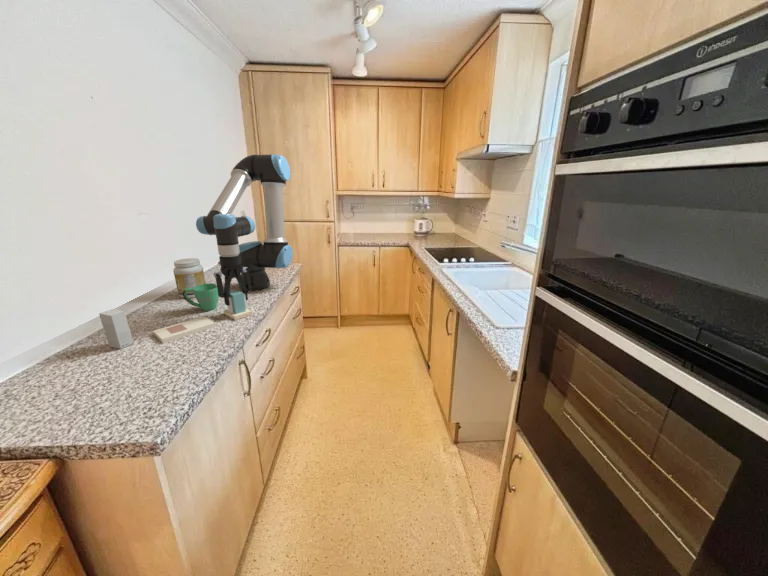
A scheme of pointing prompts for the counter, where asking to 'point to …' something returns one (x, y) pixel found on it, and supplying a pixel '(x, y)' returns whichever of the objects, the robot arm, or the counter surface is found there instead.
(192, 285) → the supplement tub
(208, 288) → the mug
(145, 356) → the counter surface
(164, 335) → the ticket
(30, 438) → the counter surface
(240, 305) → the stub
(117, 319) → the skincare box
